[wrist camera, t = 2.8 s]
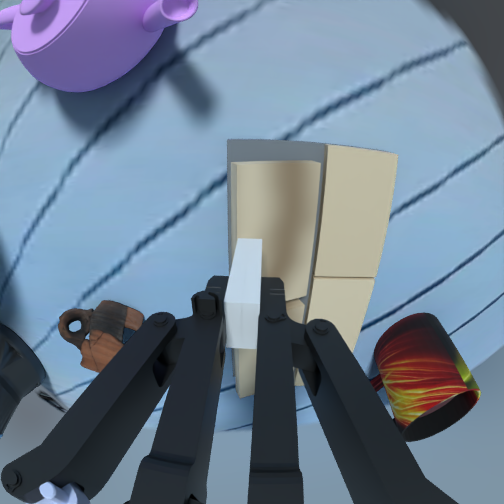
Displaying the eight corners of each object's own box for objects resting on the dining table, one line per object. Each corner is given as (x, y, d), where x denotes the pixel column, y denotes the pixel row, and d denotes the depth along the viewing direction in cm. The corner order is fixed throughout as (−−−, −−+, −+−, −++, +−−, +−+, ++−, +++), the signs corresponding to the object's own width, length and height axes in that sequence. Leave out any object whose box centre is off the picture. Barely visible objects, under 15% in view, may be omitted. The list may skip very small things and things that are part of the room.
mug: (353, 388, 33) (369, 461, 23) (390, 312, 27) (431, 398, 16) (408, 382, 33) (431, 446, 23) (450, 312, 27) (495, 380, 16)
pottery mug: (170, 320, 29) (154, 390, 25) (146, 330, 36) (133, 385, 32) (72, 276, 24) (46, 350, 20) (69, 297, 31) (51, 353, 26)
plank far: (235, 390, 28) (239, 398, 27) (233, 314, 23) (238, 322, 22) (286, 374, 30) (291, 381, 29) (298, 298, 25) (304, 305, 24)
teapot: (187, 114, 20) (124, 111, 10) (27, 86, 17) (-48, 94, 8) (248, -22, 14) (236, -96, 4) (71, -23, 11) (11, -48, 2)
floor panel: (233, 370, 32) (232, 384, 30) (228, 139, 20) (225, 140, 18) (337, 370, 31) (340, 383, 30) (386, 151, 20) (398, 155, 18)
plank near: (232, 304, 22) (237, 313, 22) (230, 162, 17) (236, 164, 16) (299, 288, 25) (306, 295, 24) (311, 160, 20) (320, 163, 19)
